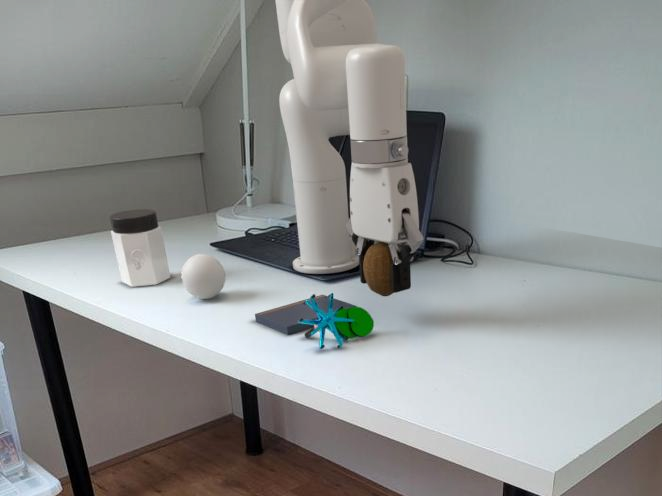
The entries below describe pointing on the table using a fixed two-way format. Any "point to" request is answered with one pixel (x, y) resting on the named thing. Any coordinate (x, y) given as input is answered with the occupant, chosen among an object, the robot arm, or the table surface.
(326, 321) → the stick construction toy
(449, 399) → the table surface
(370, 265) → the fruit
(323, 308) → the notebook
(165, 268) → the jar
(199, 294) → the white sphere
